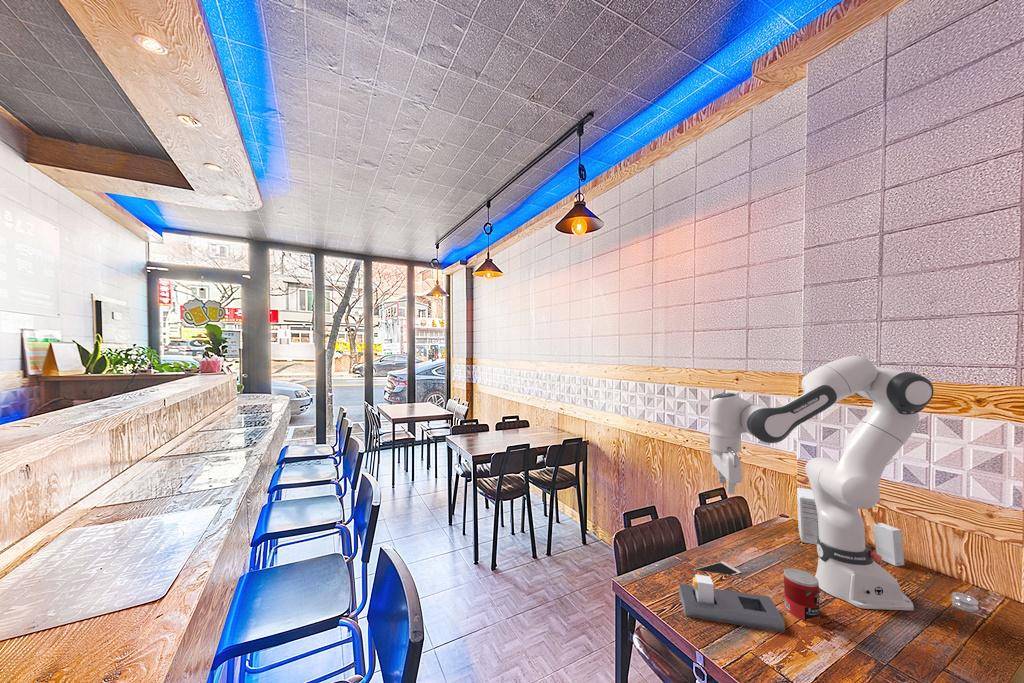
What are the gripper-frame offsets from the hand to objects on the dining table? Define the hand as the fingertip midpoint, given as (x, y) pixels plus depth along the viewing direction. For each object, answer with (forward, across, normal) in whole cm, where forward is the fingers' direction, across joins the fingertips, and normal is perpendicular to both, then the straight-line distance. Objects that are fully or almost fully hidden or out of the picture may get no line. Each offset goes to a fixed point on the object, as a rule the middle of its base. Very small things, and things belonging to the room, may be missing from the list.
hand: (726, 487), depth 119 cm
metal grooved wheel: (+31, +8, -63) cm, 71 cm away
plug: (+30, -14, +10) cm, 35 cm away
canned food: (+31, -9, -16) cm, 36 cm away
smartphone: (+32, +8, +2) cm, 33 cm away
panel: (+31, -14, +4) cm, 34 cm away
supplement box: (+31, +43, -44) cm, 69 cm away
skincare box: (+31, +31, -59) cm, 74 cm away
